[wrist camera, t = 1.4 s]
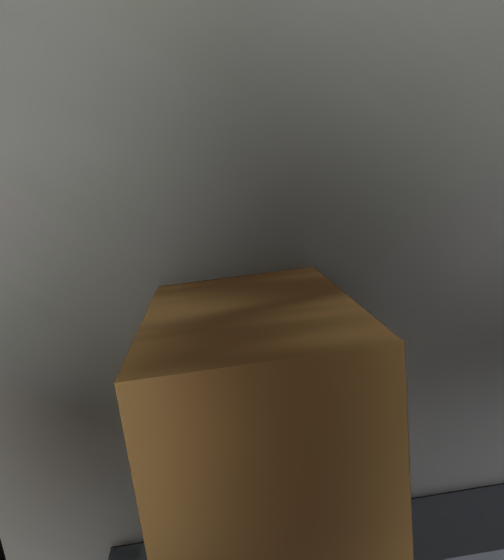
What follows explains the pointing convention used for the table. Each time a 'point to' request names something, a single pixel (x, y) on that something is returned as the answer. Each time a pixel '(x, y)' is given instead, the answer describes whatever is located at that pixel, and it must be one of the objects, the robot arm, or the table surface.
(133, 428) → the block
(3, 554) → the robot arm
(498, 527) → the tray
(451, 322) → the table surface
